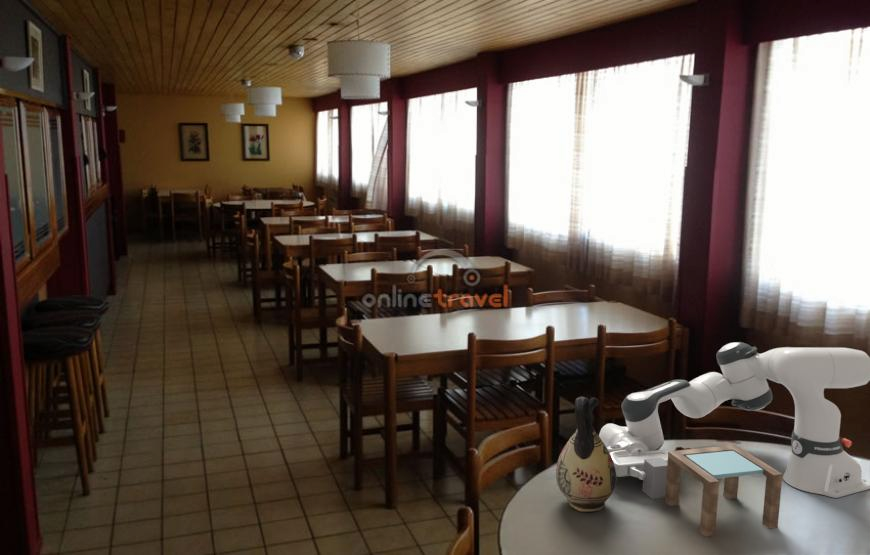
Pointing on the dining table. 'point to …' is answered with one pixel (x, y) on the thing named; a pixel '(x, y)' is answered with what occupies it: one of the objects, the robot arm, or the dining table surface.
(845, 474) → the robot arm
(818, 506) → the dining table surface
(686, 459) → the trapdoor frame
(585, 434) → the ceramic jug
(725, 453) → the trapdoor
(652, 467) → the light grey block
